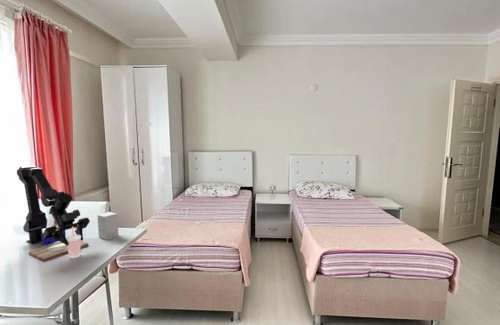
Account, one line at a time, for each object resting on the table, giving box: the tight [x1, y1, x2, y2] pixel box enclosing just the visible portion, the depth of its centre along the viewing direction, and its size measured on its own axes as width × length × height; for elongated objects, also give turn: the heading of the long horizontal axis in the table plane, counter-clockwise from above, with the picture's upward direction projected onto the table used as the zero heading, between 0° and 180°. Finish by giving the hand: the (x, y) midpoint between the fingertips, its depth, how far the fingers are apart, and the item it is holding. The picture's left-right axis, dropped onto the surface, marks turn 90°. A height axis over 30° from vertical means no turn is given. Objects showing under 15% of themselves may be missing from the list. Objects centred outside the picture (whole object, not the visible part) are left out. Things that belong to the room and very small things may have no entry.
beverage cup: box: [65, 226, 81, 259], centre depth 132 cm, size 6×6×14 cm
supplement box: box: [97, 211, 119, 241], centre depth 157 cm, size 7×7×13 cm
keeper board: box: [28, 240, 89, 262], centre depth 139 cm, size 14×20×2 cm
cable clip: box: [41, 230, 67, 246], centre depth 152 cm, size 12×4×6 cm, turn 172°
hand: (75, 242), depth 132 cm, fingers closed on beverage cup, 6 cm apart
